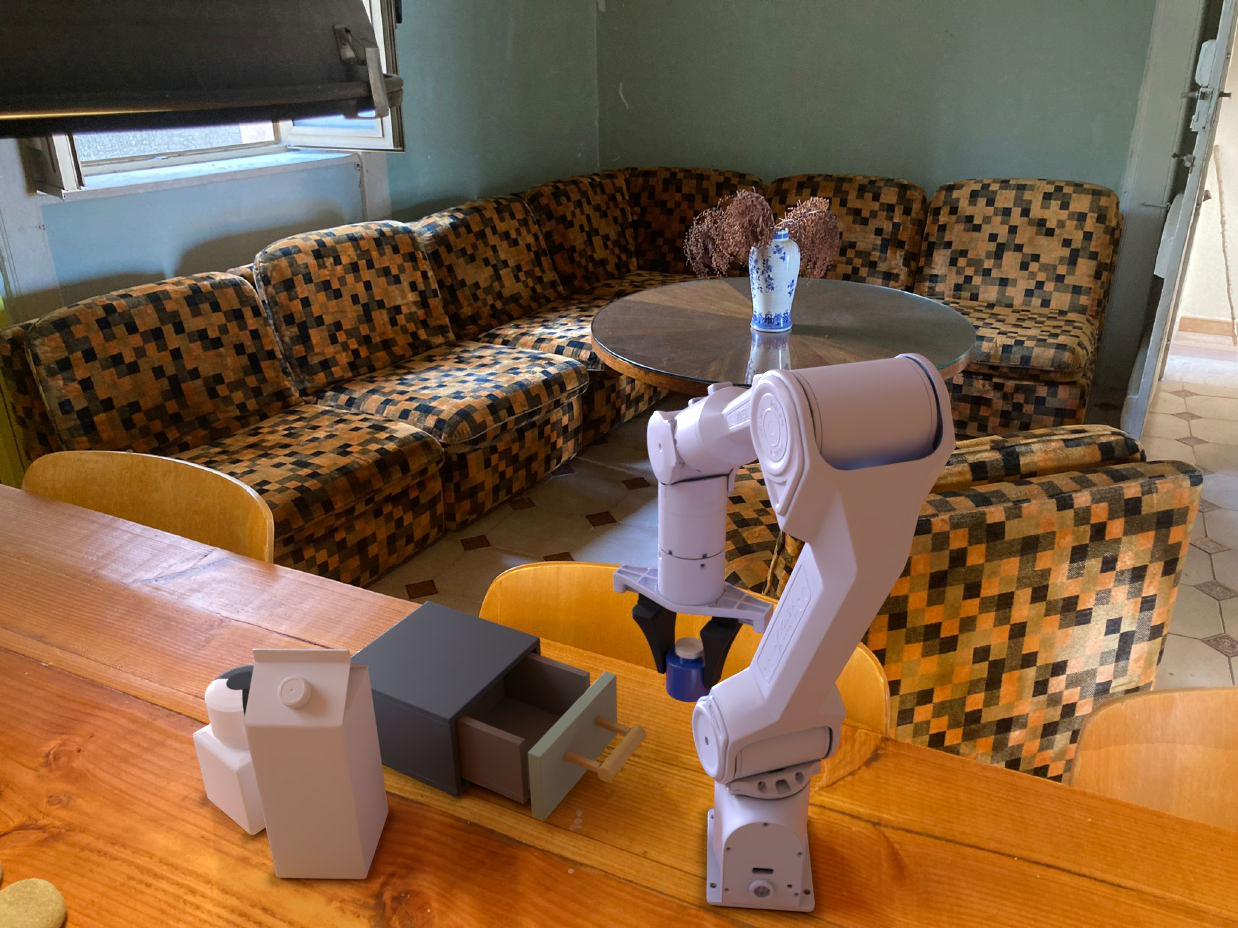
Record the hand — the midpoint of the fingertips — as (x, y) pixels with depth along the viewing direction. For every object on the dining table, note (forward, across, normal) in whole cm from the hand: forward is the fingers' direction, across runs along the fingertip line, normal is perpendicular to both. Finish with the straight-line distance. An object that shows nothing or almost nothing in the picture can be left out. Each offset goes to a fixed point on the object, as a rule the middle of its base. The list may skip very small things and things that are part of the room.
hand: (689, 675), depth 87 cm
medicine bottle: (+7, +28, +25) cm, 38 cm away
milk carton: (+7, +19, +26) cm, 33 cm away
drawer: (+6, +9, +10) cm, 15 cm away
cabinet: (+6, +20, +10) cm, 24 cm away
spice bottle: (+1, 0, 0) cm, 1 cm away
